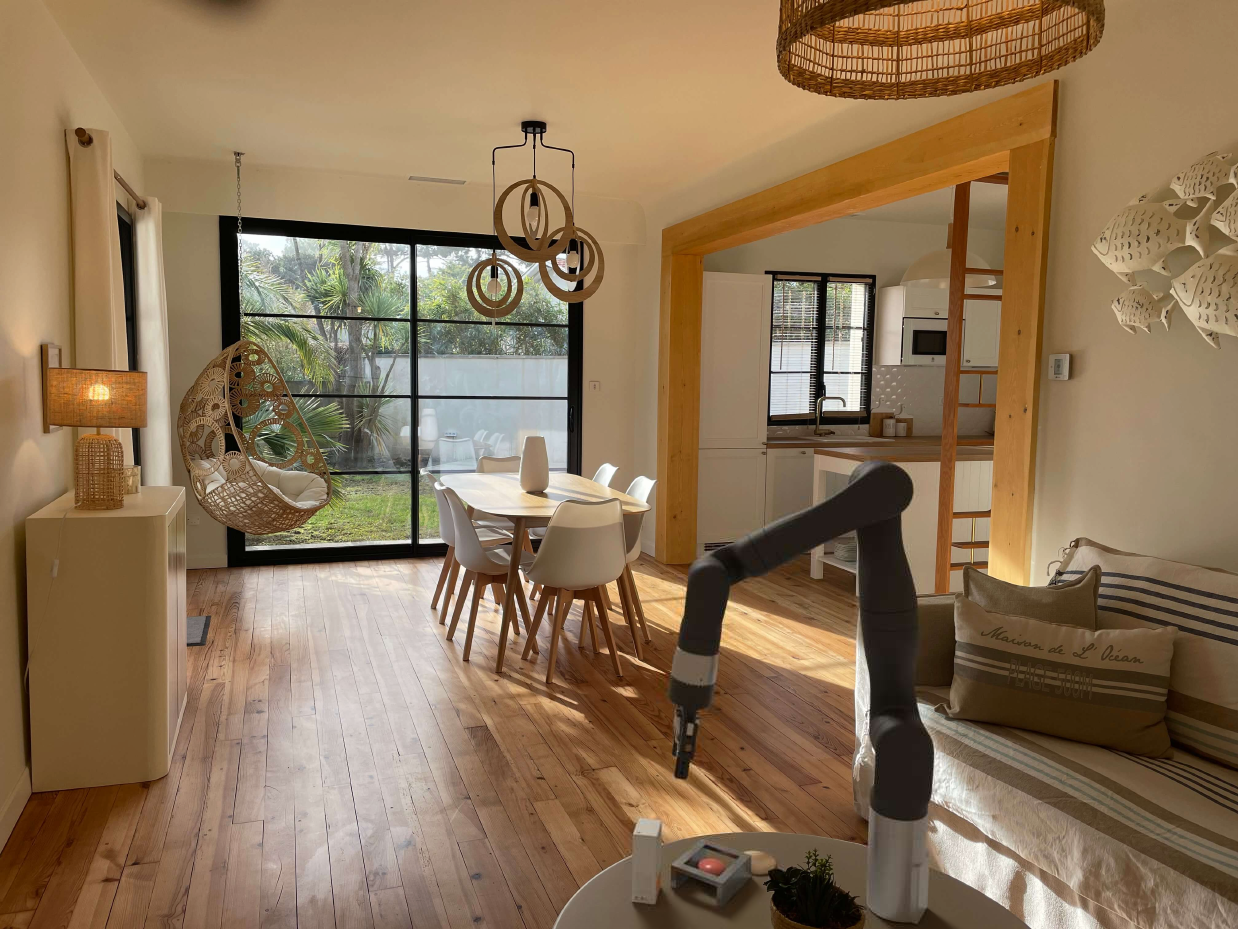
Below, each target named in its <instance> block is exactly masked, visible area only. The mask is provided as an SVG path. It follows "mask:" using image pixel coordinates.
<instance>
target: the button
mask: <svg viewBox="0 0 1238 929" xmlns="http://www.w3.org/2000/svg"><path fill="white" fill-rule="evenodd" d="M696 869H699V870H701V871H704V872H707V873H710V874H712V875H715V876H718V877H719V876H720V875H721V874H722V873H723V872H724V871H725V870H726V869H727V868H726V865H725V863H724V862H723V861H721V860H720V859H717V858H710V857H709V858H707V859H704V860H701V861H700V862H699V865H698V866H697V867H696Z"/></svg>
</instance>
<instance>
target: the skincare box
mask: <svg viewBox="0 0 1238 929" xmlns="http://www.w3.org/2000/svg"><path fill="white" fill-rule="evenodd" d="M662 825H663V822H662V820H659V819H651V818H644V817H640V818H638V820H637V823H636V825H635V826H634V831H633V833H632V850H631V851H632V852H631V854H632V855H631V856H632V858H631V861H632V862H631V864H632V865H631V900H630V901H631V902H633V903H641V904H647V905H656V904H657V899H658V894H659V891H660V888H661V882H662V881H661V880H662V879H661V878H662V877H661V876H662V874H661V872H662V840H663V839H662V835H663V834H662V829H663V827H662Z"/></svg>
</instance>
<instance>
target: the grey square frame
mask: <svg viewBox="0 0 1238 929" xmlns="http://www.w3.org/2000/svg"><path fill="white" fill-rule="evenodd" d="M708 851H710V852H711V851H712V852H715V853H717V854H720V855H722V856H726V857H728V858H731V859H734V861H733V862H732V863H731V864H730V865H729V866H728V867H727V868H726V870H725V871H724V872H723V873H722V874H721V875H720V876H719V877H718V876H715V875H712V874H710V873H707V872H704V871H701V870H699V869H696V867H697V866H698V865H699V862H700V861H701V860H704V859H708V858H707V857H708V856H707V854H708ZM751 858H752V855H749V854H746V853H743V851H739V850H737V849H734V848H731V847H728V846H725V845H723V844H719V843H717V842H714V841H710V840H708V839H705V838H701V839H700V840H698V842H696V843H695V844H694V845H692V846H691V847H690V848H689V849H688V850H687V851H685V852H684V853H683V854H682V855H681V856H680V857H678V858H677V859H676V860H675V861H674V862H672V864H670V888H672V889H677V888H678V887H679V886H681V885H682V884H683V883H684V882H685V881H687V879H689V878H690V877H691V878H694V879H696V880H699V881H702V882H704V883H706V884H710V885H712V886H715V887H716V905H717V906H719V907H723V906H724V905H725V904H726V903H727V902H728V901H729V900H730V899H731V898H732V897H733V896H734V895H735V894H736V893H737V892H738V891H739V890H740V889H741V888H742V887H743V886H744V885H745V884H746V883H747V881H748V880H750V879H751V877H752V874H751Z"/></svg>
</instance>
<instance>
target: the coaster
mask: <svg viewBox="0 0 1238 929" xmlns="http://www.w3.org/2000/svg"><path fill="white" fill-rule="evenodd" d="M742 852H743V851H742ZM743 853H746V854H749V855H752V858H751V875H755V876H761V875H768V874H769V873H768V870H769V869H772V868H775V869H776V867H777V866H776V860H775V858H774V857H773V856H772V855H770V854H769V853H766V852H763V851H759V850H758V851H757V850H747V851H744V852H743Z"/></svg>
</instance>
